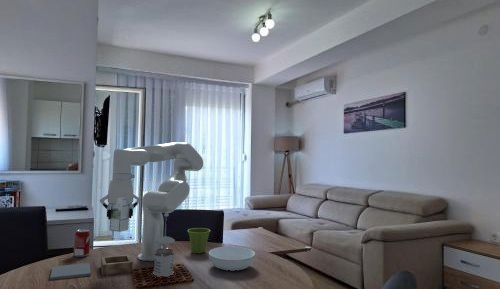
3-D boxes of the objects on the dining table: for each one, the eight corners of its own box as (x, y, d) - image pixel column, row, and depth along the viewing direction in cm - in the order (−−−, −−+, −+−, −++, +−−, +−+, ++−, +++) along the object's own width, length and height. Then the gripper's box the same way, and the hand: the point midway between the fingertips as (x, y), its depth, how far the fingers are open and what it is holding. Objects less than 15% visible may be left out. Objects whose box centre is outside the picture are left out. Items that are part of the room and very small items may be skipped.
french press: (153, 279, 132) (157, 215, 133) (148, 270, 142) (151, 211, 143) (178, 276, 136) (181, 214, 137) (171, 267, 146) (173, 210, 148)
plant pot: (190, 248, 180) (191, 227, 180) (211, 250, 178) (212, 228, 179) (183, 254, 168) (184, 231, 169) (206, 256, 166) (207, 233, 167)
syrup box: (129, 229, 145) (131, 196, 146) (119, 232, 139) (122, 197, 140) (118, 228, 147) (120, 195, 148) (108, 230, 141) (111, 196, 142)
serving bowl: (198, 266, 149) (199, 251, 150) (232, 258, 165) (232, 244, 165) (230, 279, 135) (231, 262, 136) (264, 268, 151) (264, 253, 151)
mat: (89, 265, 145) (89, 263, 145) (90, 275, 133) (90, 273, 133) (52, 268, 139) (52, 266, 139) (49, 280, 126) (49, 277, 126)
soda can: (82, 258, 155) (84, 232, 156) (70, 256, 156) (71, 231, 157) (92, 254, 162) (93, 229, 162) (80, 253, 163) (81, 228, 164)
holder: (128, 263, 149) (129, 254, 150) (132, 271, 139) (132, 261, 140) (100, 266, 144) (101, 257, 144) (102, 274, 134) (103, 264, 134)
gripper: (141, 176, 151) (139, 215, 151) (99, 176, 143) (97, 218, 143) (144, 178, 145) (142, 218, 144) (100, 177, 137) (98, 221, 136)
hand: (119, 218), depth 143 cm, fingers closed on syrup box, 7 cm apart
